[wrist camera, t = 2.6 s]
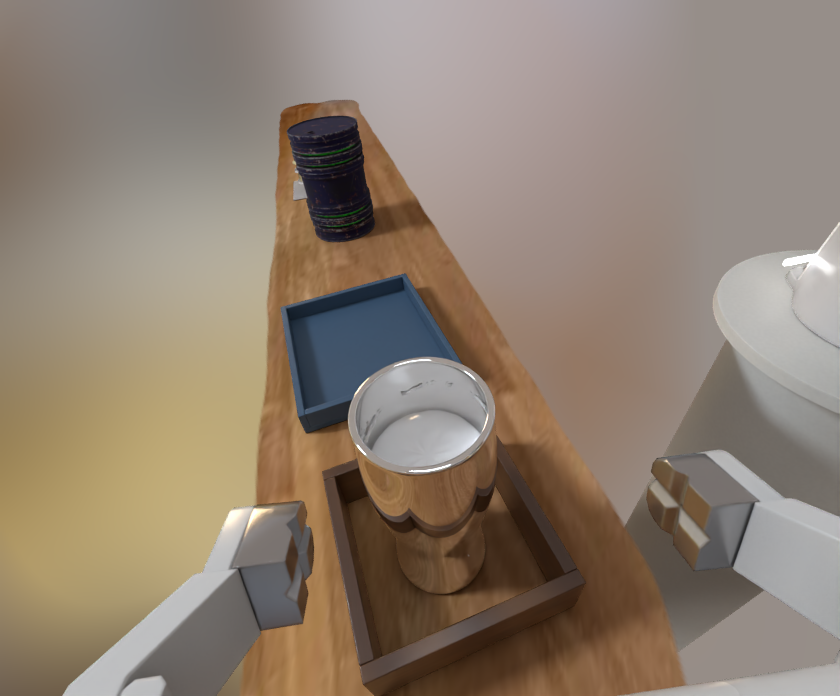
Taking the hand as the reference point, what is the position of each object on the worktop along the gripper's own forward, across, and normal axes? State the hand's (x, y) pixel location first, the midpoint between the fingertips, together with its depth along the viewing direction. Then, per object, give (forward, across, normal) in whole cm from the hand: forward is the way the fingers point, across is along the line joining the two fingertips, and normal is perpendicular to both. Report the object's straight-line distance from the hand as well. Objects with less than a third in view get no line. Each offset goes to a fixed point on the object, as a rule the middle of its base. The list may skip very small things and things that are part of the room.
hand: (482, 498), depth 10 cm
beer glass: (+13, 0, +17) cm, 22 cm away
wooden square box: (+13, 0, +17) cm, 21 cm away
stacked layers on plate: (+81, +14, -5) cm, 83 cm away
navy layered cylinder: (+62, +8, +1) cm, 63 cm away
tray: (+34, +5, +10) cm, 36 cm away
